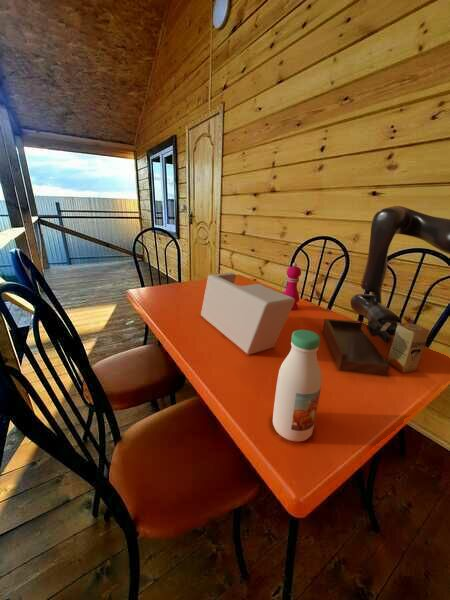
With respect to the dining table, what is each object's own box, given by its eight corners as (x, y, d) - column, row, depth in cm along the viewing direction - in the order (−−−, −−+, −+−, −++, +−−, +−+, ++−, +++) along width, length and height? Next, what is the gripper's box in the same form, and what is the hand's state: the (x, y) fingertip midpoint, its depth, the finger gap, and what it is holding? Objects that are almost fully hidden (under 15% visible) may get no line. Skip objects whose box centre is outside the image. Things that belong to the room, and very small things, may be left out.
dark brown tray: (358, 334, 89) (361, 321, 87) (387, 376, 66) (392, 359, 65) (322, 331, 90) (324, 318, 89) (339, 370, 68) (342, 354, 66)
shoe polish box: (386, 362, 73) (397, 324, 69) (400, 360, 74) (411, 322, 70) (402, 372, 68) (414, 332, 64) (416, 370, 69) (429, 330, 65)
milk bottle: (272, 439, 47) (284, 343, 40) (271, 409, 54) (281, 323, 47) (316, 446, 46) (336, 348, 39) (308, 414, 53) (324, 327, 46)
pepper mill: (280, 309, 110) (285, 263, 104) (282, 303, 117) (286, 260, 110) (297, 311, 108) (303, 265, 102) (298, 305, 115) (304, 262, 108)
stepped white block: (264, 369, 85) (297, 298, 67) (238, 378, 80) (266, 304, 62) (222, 311, 105) (240, 245, 87) (199, 315, 100) (213, 246, 82)
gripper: (362, 307, 84) (382, 327, 69) (409, 311, 82) (440, 333, 67) (357, 327, 87) (375, 351, 72) (403, 331, 85) (431, 357, 70)
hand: (406, 342), depth 69 cm, fingers open, 8 cm apart
